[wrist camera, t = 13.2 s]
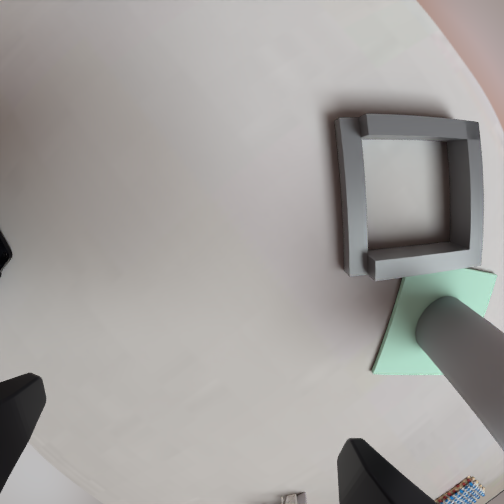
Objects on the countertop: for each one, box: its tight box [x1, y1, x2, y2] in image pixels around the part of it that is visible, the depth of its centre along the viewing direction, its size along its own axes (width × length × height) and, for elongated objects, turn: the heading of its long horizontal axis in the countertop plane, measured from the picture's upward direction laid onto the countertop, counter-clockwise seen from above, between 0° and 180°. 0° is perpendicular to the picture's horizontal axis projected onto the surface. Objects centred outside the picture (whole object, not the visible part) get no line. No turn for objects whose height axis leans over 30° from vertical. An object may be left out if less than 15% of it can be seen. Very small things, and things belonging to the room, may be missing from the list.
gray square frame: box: [334, 114, 484, 281], centre depth 18 cm, size 9×9×2 cm
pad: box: [372, 268, 497, 375], centre depth 21 cm, size 9×9×1 cm
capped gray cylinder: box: [415, 296, 504, 451], centre depth 13 cm, size 5×5×14 cm
